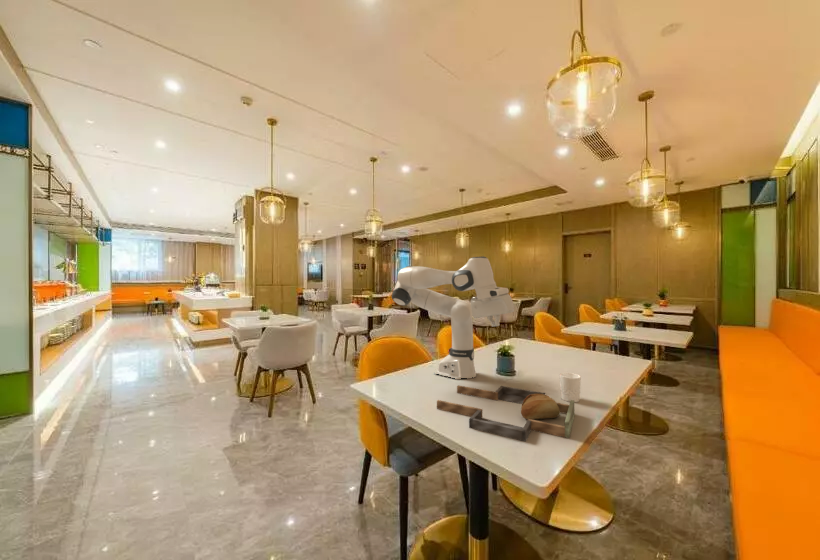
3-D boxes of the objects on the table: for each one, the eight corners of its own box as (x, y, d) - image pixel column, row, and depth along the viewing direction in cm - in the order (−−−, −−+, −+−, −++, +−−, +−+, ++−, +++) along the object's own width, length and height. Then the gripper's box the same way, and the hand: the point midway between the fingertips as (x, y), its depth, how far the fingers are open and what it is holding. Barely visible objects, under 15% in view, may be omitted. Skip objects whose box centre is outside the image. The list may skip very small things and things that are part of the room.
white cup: (576, 396, 136) (575, 372, 136) (584, 403, 129) (584, 378, 129) (557, 395, 137) (556, 372, 137) (564, 402, 129) (563, 378, 129)
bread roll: (514, 414, 119) (513, 393, 119) (547, 409, 123) (547, 389, 123) (530, 425, 110) (530, 402, 110) (566, 420, 114) (565, 397, 114)
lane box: (425, 417, 117) (425, 403, 117) (465, 386, 150) (465, 375, 150) (566, 451, 93) (566, 434, 93) (576, 405, 126) (576, 393, 126)
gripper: (464, 298, 139) (472, 330, 137) (501, 290, 122) (510, 325, 121) (474, 296, 142) (482, 326, 141) (511, 287, 126) (520, 322, 125)
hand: (495, 326), depth 131 cm, fingers closed
